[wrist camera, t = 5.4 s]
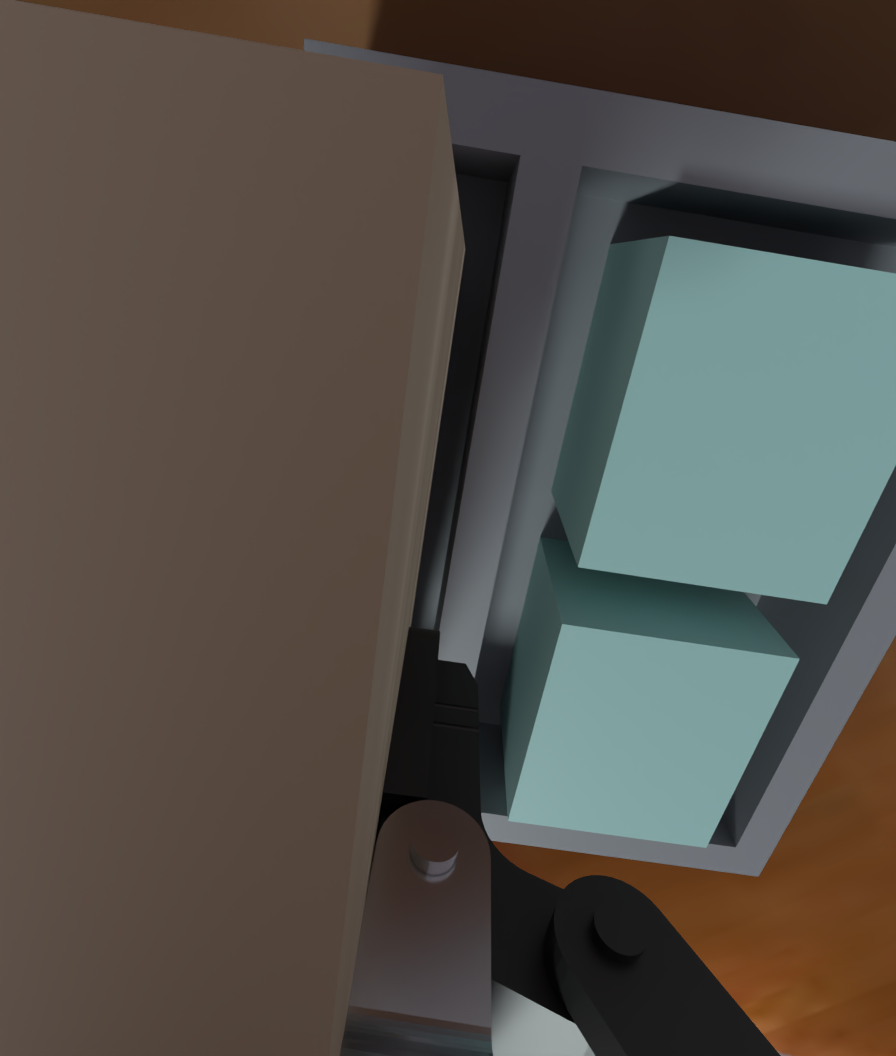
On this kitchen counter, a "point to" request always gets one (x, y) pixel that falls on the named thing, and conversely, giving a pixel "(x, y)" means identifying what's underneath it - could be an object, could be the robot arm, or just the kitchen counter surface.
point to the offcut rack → (553, 368)
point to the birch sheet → (206, 520)
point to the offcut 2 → (634, 701)
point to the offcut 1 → (730, 418)
